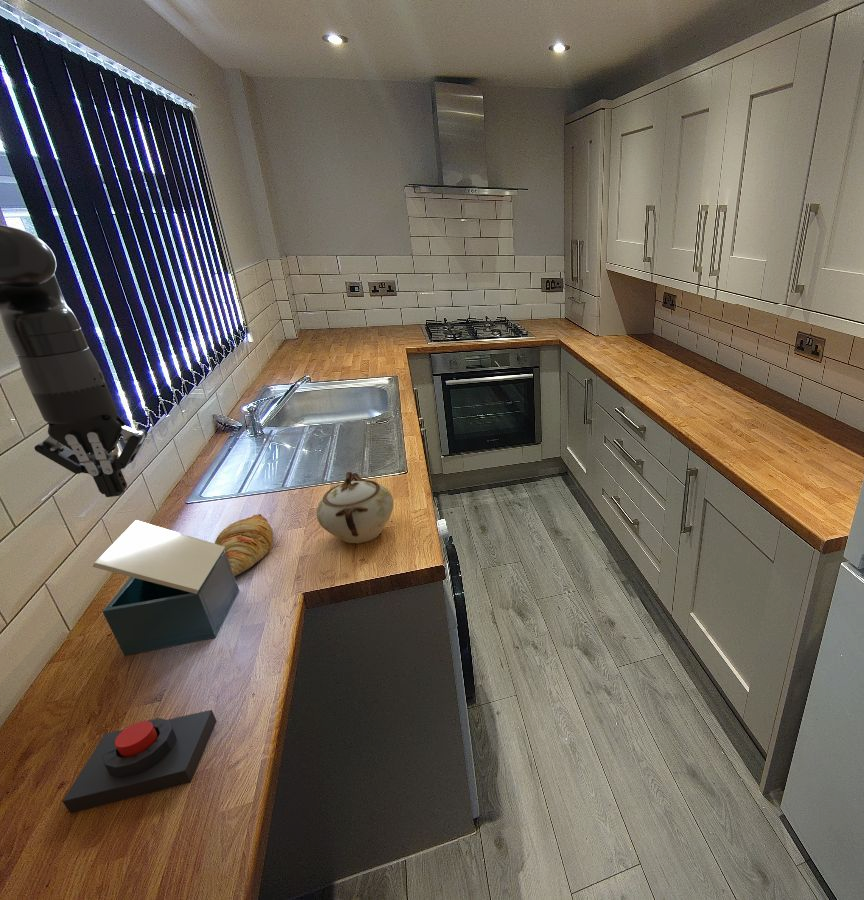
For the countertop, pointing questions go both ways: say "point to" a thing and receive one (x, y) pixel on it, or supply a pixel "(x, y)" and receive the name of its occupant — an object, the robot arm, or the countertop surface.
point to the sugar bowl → (355, 509)
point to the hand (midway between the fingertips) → (116, 494)
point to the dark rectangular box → (170, 611)
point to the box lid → (161, 557)
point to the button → (136, 738)
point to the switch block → (142, 763)
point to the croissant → (246, 542)
